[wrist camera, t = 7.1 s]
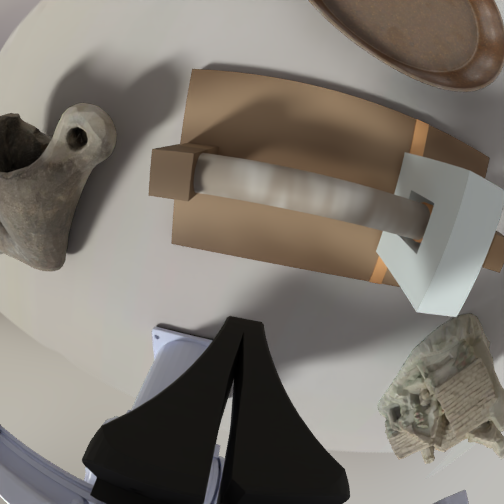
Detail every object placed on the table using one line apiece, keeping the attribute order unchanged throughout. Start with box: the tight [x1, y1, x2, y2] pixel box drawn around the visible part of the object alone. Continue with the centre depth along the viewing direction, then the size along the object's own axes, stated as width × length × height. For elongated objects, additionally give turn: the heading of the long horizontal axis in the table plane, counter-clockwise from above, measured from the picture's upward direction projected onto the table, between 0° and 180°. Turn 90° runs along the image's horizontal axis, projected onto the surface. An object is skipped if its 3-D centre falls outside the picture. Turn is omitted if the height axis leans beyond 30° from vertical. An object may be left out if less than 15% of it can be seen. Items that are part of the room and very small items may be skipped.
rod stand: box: [149, 69, 504, 287], centre depth 14 cm, size 12×22×6 cm, turn 80°
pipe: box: [0, 103, 117, 271], centre depth 16 cm, size 16×9×15 cm
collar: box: [376, 152, 504, 317], centre depth 13 cm, size 7×3×7 cm, turn 171°
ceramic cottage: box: [377, 313, 504, 464], centre depth 19 cm, size 16×16×15 cm
